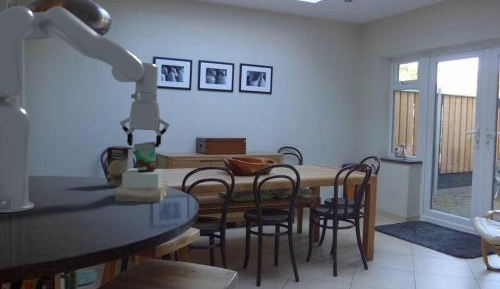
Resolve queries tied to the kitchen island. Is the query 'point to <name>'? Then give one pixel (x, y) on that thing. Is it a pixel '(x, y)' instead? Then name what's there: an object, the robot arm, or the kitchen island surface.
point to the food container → (145, 156)
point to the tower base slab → (141, 194)
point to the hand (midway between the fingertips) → (144, 146)
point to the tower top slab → (141, 179)
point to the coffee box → (118, 164)
